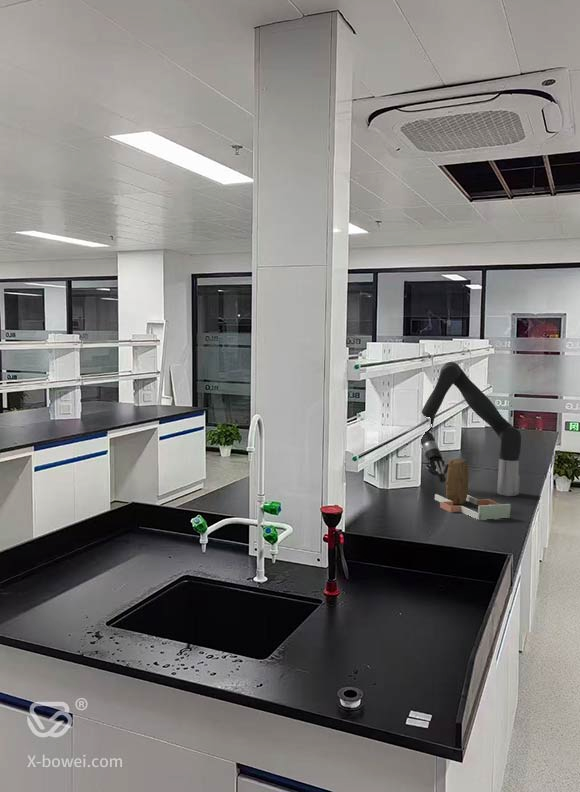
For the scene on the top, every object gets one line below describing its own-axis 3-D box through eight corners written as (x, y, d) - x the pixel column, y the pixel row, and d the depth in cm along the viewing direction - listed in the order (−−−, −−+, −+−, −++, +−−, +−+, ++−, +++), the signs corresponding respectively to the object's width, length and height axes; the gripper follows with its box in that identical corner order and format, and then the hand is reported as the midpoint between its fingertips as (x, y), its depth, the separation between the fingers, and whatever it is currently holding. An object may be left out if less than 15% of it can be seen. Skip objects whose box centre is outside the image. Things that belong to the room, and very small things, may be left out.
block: (459, 506, 302) (461, 462, 300) (443, 503, 306) (446, 459, 305) (469, 501, 310) (471, 459, 308) (454, 499, 315) (456, 457, 313)
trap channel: (472, 497, 319) (472, 485, 318) (519, 517, 284) (520, 503, 283) (425, 500, 311) (425, 487, 311) (468, 521, 277) (469, 506, 276)
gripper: (422, 447, 325) (433, 478, 315) (446, 447, 329) (458, 477, 319) (416, 456, 331) (427, 486, 320) (440, 456, 335) (452, 485, 324)
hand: (443, 481), depth 320 cm, fingers closed
